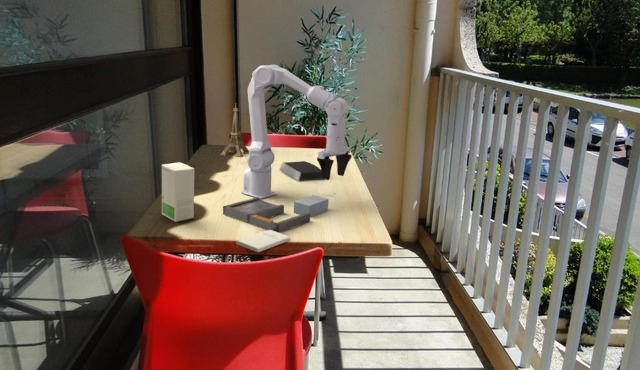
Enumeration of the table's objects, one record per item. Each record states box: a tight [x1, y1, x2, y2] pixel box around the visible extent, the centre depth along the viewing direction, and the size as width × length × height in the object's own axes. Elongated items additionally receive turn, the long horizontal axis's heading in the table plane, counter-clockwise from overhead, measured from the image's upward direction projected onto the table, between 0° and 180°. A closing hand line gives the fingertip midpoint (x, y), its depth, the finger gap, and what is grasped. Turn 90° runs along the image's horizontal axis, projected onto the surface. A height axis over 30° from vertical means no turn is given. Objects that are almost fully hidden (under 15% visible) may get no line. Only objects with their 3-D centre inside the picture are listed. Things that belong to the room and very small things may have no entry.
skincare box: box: [161, 161, 195, 223], centre depth 158 cm, size 8×7×16 cm
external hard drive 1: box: [235, 230, 292, 253], centre depth 144 cm, size 2×8×12 cm
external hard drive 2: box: [278, 160, 326, 183], centre depth 214 cm, size 13×19×4 cm
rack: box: [222, 197, 311, 233], centre depth 162 cm, size 23×14×3 cm, turn 51°
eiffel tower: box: [219, 104, 249, 158], centre depth 243 cm, size 11×11×25 cm
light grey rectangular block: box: [293, 194, 329, 218], centre depth 170 cm, size 6×10×4 cm, turn 144°
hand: (333, 177), depth 176 cm, fingers open, 7 cm apart
